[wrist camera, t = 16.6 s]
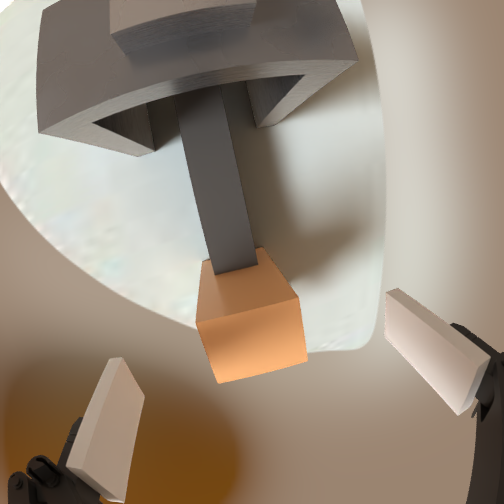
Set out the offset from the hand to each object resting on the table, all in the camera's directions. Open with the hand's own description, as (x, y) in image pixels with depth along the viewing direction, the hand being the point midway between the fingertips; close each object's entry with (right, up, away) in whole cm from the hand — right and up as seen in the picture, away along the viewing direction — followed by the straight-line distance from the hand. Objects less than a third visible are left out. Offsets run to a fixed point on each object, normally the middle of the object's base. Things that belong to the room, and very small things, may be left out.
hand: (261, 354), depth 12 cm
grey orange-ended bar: (-3, +10, +8) cm, 14 cm away
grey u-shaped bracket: (-5, +16, +7) cm, 18 cm away
